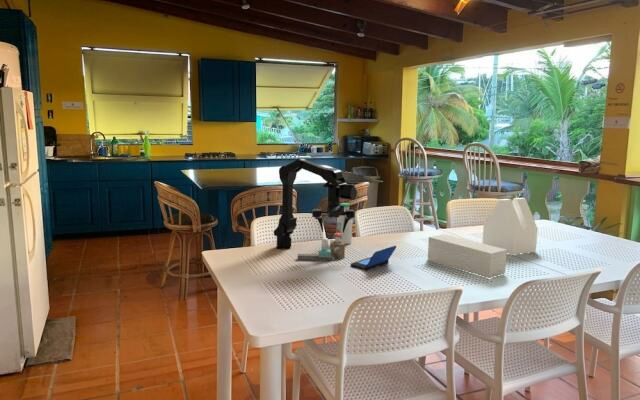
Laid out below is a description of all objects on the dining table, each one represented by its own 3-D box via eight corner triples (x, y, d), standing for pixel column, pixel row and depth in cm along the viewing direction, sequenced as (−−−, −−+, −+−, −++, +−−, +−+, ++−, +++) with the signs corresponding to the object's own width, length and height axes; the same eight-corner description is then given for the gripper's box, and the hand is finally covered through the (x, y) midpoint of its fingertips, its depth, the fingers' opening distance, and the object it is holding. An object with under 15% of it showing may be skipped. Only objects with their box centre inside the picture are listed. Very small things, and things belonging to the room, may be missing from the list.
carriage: (319, 257, 217) (319, 240, 216) (318, 254, 222) (319, 237, 221) (330, 257, 218) (331, 240, 216) (330, 254, 222) (330, 237, 221)
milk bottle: (351, 241, 254) (352, 202, 250) (351, 244, 246) (352, 205, 243) (336, 240, 254) (337, 201, 251) (335, 244, 247) (336, 204, 243)
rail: (297, 260, 218) (297, 255, 218) (297, 258, 221) (297, 253, 221) (333, 260, 219) (334, 255, 219) (333, 258, 222) (333, 254, 221)
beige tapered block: (482, 246, 249) (485, 196, 244) (504, 243, 255) (508, 195, 251) (512, 255, 232) (516, 203, 227) (535, 252, 238) (540, 201, 234)
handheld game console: (371, 259, 222) (372, 239, 220) (396, 266, 213) (397, 245, 211) (349, 266, 211) (349, 245, 209) (374, 274, 202) (375, 251, 200)
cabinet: (331, 257, 223) (331, 244, 222) (330, 252, 231) (330, 240, 230) (344, 257, 223) (344, 244, 222) (343, 252, 231) (343, 240, 230)
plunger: (334, 245, 225) (334, 234, 224) (333, 243, 228) (333, 232, 227) (341, 245, 225) (341, 234, 224) (340, 243, 228) (340, 233, 227)
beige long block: (427, 260, 222) (428, 237, 220) (443, 256, 228) (444, 234, 227) (489, 279, 197) (491, 253, 195) (504, 275, 203) (507, 249, 201)
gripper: (312, 200, 212) (312, 236, 214) (356, 201, 212) (355, 236, 215) (312, 196, 223) (312, 230, 225) (354, 197, 223) (353, 230, 226)
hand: (332, 232), depth 223 cm, fingers open, 9 cm apart
